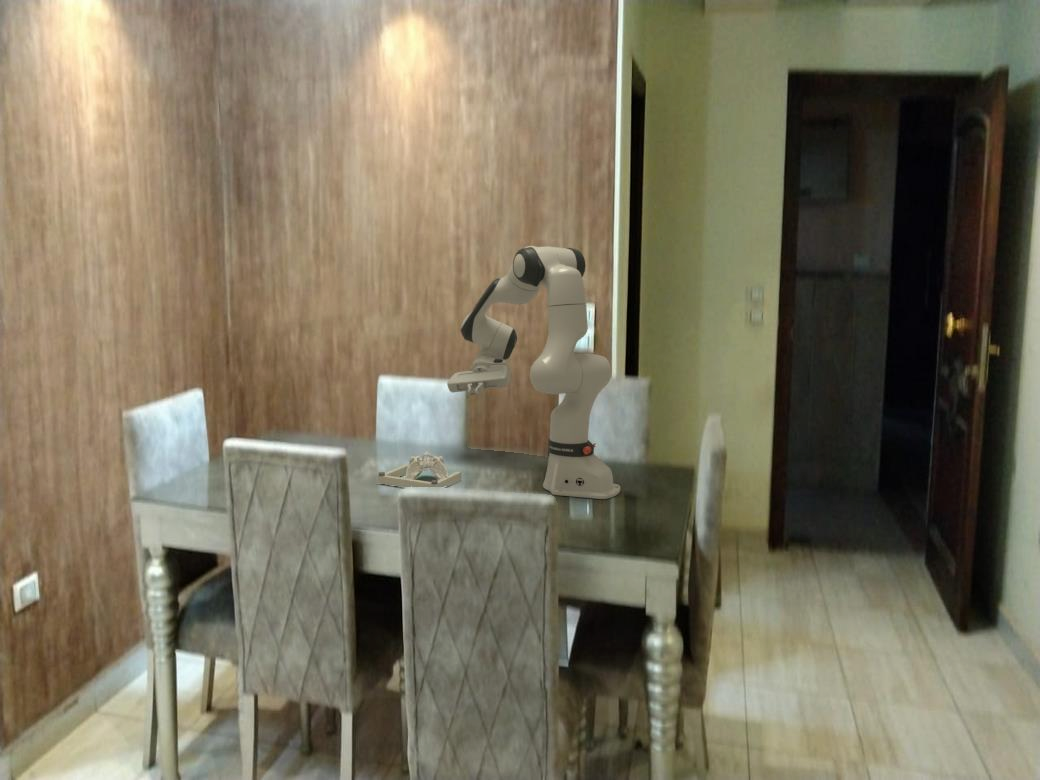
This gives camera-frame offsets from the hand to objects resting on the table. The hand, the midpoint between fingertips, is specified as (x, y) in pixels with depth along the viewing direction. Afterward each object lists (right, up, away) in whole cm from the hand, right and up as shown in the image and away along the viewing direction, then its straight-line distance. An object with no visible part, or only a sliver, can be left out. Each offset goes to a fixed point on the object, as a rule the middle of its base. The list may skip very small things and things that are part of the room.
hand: (472, 393), depth 282 cm
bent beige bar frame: (-15, -26, -16) cm, 34 cm away
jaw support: (-13, -26, -15) cm, 33 cm away
